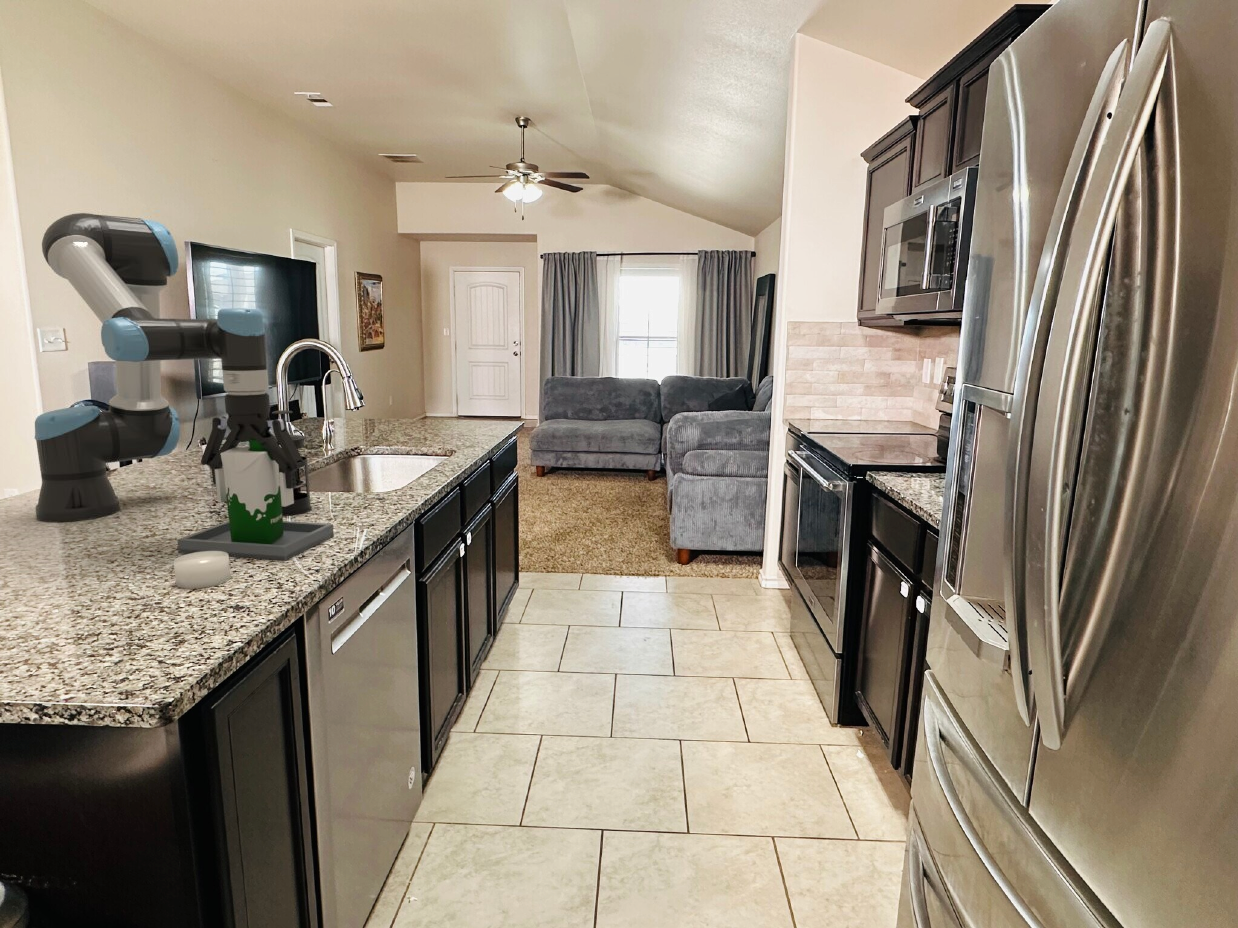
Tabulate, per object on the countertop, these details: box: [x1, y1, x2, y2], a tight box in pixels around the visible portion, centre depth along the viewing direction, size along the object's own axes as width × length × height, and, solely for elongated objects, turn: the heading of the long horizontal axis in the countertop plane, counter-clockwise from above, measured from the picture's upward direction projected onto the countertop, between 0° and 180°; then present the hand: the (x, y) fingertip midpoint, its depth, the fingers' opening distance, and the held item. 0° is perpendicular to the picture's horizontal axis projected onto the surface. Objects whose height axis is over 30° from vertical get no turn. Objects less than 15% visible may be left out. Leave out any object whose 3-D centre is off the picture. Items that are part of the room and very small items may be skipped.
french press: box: [271, 410, 313, 517], centre depth 168 cm, size 12×9×23 cm
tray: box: [176, 520, 335, 561], centre depth 144 cm, size 22×16×2 cm
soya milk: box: [221, 437, 284, 545], centre depth 142 cm, size 9×9×20 cm
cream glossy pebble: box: [173, 551, 232, 589], centre depth 124 cm, size 8×8×4 cm
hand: (255, 503), depth 143 cm, fingers open, 13 cm apart
